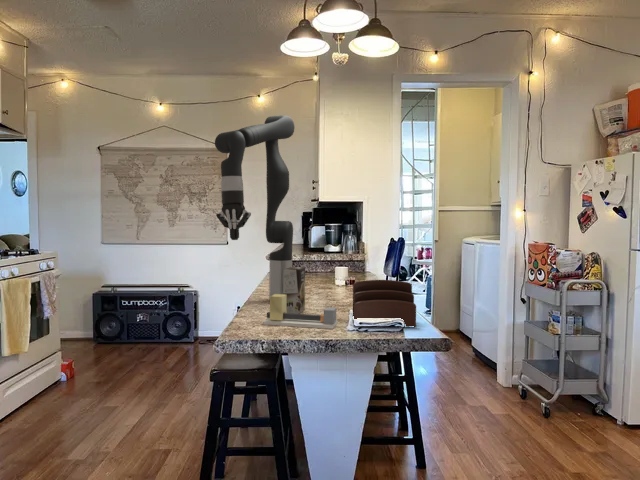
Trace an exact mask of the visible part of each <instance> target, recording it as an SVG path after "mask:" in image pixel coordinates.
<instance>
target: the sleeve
mask: <svg viewBox="0 0 640 480" xmlns="http://www.w3.org/2000/svg"><path fill="white" fill-rule="evenodd" d="M269 312H270V320H283V313H287V294H274V295H272V296H270V302H269Z"/></svg>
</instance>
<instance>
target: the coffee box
mask: <svg viewBox="0 0 640 480" xmlns="http://www.w3.org/2000/svg"><path fill="white" fill-rule="evenodd" d="M283 294H287V313H294V314H302V312H303V311H305V310H306V309H305V308H306V267H304V266H303V267H302V266H301V267H300V266H295V267H293V266H292V267H289V268H286V269H283Z"/></svg>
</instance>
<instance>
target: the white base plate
mask: <svg viewBox="0 0 640 480" xmlns="http://www.w3.org/2000/svg"><path fill="white" fill-rule="evenodd" d="M338 322H339V321H338V319H337V307H325V308H324V309H323V313H322V314H308V313H300V314H294V313H283V320H270V311H268V312H266V319H264V320H262V325H264V326H265V325H267V326H282V327H283V326H284V327H299V328H311V329H312V328H314V329H315V328H316V329H329V330H333V329H334V328H335V327H336V326H337V325H338Z"/></svg>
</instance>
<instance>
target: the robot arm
mask: <svg viewBox="0 0 640 480" xmlns="http://www.w3.org/2000/svg"><path fill="white" fill-rule="evenodd" d="M294 132H295V122H294V120H293V119H292V117H290V116H289V115H286V114H283V115H272V116H268V117H266V119H265V121H264V123H262V124H254V125H253V124H252V125H249V126H245V127H241V128H239V129H235V130H230V131H225V132H221V133H219V134H217V135H216V137H215V139H214V146H215V148H216V150H217V151H219V152H220V153H222V154H228V157H227V158H226V159H224V160H222V161H221V163H220V173H221V174H220V175H221V181H220V190H221V204H222V207H221V211H220V212H219V213H216V215H215V217H216V218H217V219H218V221H219V222H220V223H221V225H223V227H224V228H225V229H226V228H227V229H229V238H230V239H231V241H238V240H239V238H240V229H241V228H243V227H245V225H246V223H247V222H248V220H249V219H250V217H251V216H252V213H251V212H249V211H247V210H246V207H245V205H244V203H245V200H244V199H245V198H244V197H245V196H244V182H243V171H242V170H243V169H242V164H243V161H244V155H245V151H246V148H251V147H253V146H257V145H259V144H262V143H264V145H265V157H266V177H265V178H266V181H265V182H266V218H265V219H266V221H265V238H266V241H267V242H268V243H269V244H283V246H282V247H281V248H279V249H277V250H275V251H272V252H270V253H269V276H268V277H269V294H268V295H269V296H268V297H269V298H268V299H269V303H270V296H272V295H274V294H283V269H286V268H289V267H293V239H294V226H293V223H292V222H291V221H290V220H276V216H277V211H278V209H279V207H280V205H281V204H282V202H283V201H284V199H285V198H286V196H287V195H288V192H289V189H290V172H289V169H288V167H287V165H286V163H285V161H284V160H283V157H282V156H281V153H280V149H279V148H280V147H279V140H286V139H290V138H291V137H292V136H293V135H294Z"/></svg>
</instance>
